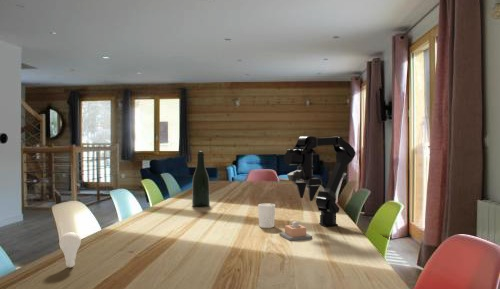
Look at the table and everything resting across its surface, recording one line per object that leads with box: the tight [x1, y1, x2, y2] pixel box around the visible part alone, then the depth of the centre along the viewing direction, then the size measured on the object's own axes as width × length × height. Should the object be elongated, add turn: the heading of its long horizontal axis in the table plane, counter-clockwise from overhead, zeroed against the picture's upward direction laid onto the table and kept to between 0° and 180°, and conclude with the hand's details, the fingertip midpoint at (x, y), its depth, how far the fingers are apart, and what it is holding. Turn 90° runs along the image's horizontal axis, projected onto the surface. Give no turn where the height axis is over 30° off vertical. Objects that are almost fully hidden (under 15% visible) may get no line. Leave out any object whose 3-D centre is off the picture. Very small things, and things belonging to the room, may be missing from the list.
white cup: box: [257, 202, 276, 229], centre depth 182 cm, size 8×8×10 cm
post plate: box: [278, 221, 313, 242], centre depth 162 cm, size 10×10×6 cm
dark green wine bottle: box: [191, 150, 211, 208], centre depth 240 cm, size 10×10×33 cm
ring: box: [284, 224, 307, 237], centre depth 162 cm, size 6×6×3 cm
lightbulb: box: [58, 231, 82, 269], centre depth 125 cm, size 6×6×11 cm
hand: (306, 199), depth 177 cm, fingers open, 9 cm apart
